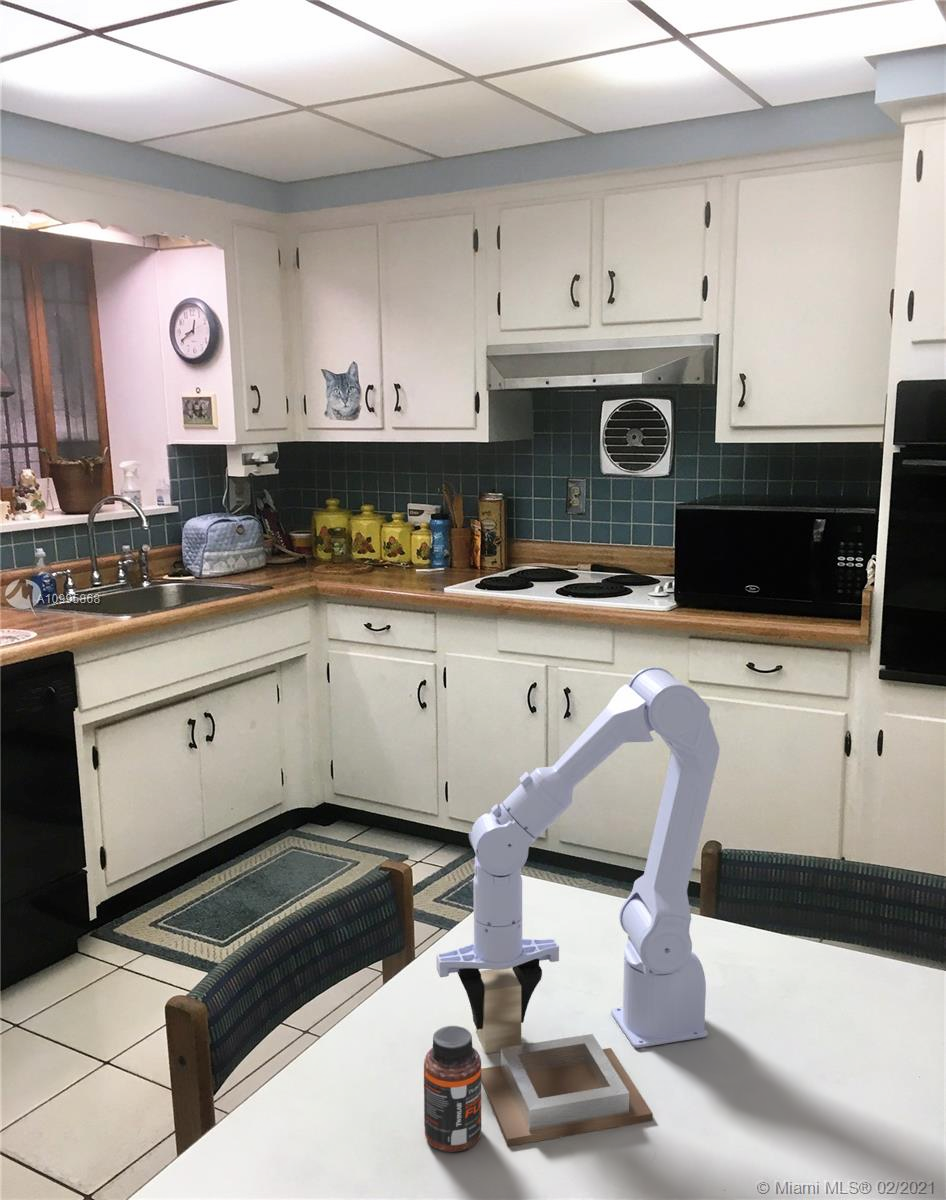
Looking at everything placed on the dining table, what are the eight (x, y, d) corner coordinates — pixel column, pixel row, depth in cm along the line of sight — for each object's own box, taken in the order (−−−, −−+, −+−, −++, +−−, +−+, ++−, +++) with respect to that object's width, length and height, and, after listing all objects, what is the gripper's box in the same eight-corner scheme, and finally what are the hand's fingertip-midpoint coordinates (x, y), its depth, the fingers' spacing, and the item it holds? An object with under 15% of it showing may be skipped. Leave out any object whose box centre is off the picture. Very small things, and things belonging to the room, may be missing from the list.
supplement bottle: (475, 1159, 104) (474, 1056, 102) (418, 1151, 105) (416, 1050, 103) (486, 1120, 110) (486, 1022, 108) (432, 1113, 111) (430, 1016, 109)
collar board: (610, 1054, 121) (611, 1028, 120) (652, 1120, 110) (653, 1092, 109) (478, 1075, 117) (478, 1048, 117) (507, 1146, 106) (507, 1117, 105)
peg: (511, 1027, 127) (510, 966, 125) (521, 1047, 122) (521, 985, 121) (476, 1032, 125) (475, 971, 124) (485, 1053, 121) (484, 990, 120)
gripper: (546, 893, 127) (545, 995, 129) (430, 907, 123) (432, 1011, 126) (565, 919, 120) (564, 1026, 122) (443, 935, 117) (444, 1045, 119)
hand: (498, 1021), depth 123 cm, fingers closed on peg, 4 cm apart
